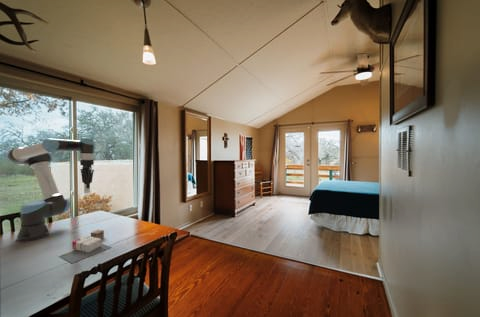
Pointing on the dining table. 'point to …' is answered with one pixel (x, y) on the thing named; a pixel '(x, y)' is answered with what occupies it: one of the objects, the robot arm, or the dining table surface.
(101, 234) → the walnut block
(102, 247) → the mat
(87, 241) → the ink box
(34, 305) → the dining table surface
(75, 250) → the oak strip
